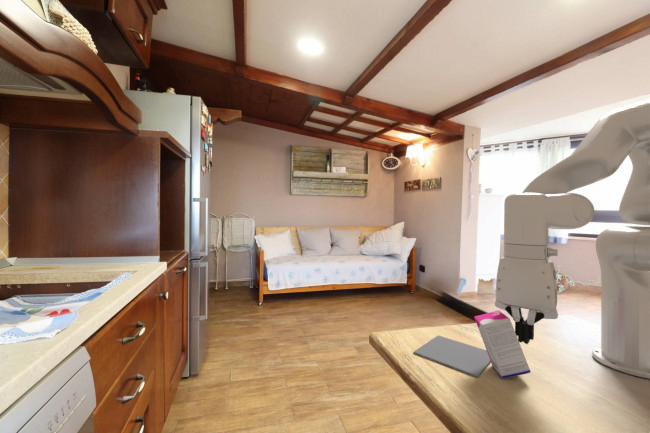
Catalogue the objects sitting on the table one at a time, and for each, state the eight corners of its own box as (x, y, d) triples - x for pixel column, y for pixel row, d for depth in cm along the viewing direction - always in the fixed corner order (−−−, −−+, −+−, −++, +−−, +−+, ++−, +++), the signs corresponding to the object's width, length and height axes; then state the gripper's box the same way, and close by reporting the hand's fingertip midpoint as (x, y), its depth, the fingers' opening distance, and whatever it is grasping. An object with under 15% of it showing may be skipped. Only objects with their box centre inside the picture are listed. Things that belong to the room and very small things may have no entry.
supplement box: (532, 372, 56) (510, 317, 57) (502, 379, 57) (480, 325, 58) (518, 358, 62) (498, 309, 63) (491, 365, 63) (472, 316, 64)
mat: (496, 355, 68) (496, 353, 68) (477, 377, 58) (477, 375, 58) (438, 336, 78) (438, 335, 78) (413, 353, 68) (413, 351, 68)
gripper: (574, 255, 55) (573, 347, 55) (489, 248, 66) (489, 326, 66) (571, 258, 50) (570, 360, 50) (480, 250, 61) (479, 335, 61)
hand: (524, 340), depth 58 cm, fingers closed
